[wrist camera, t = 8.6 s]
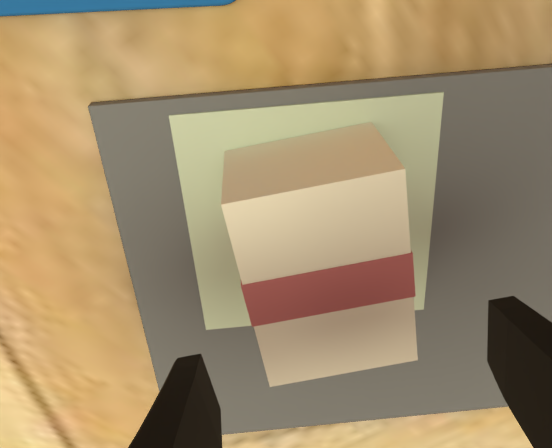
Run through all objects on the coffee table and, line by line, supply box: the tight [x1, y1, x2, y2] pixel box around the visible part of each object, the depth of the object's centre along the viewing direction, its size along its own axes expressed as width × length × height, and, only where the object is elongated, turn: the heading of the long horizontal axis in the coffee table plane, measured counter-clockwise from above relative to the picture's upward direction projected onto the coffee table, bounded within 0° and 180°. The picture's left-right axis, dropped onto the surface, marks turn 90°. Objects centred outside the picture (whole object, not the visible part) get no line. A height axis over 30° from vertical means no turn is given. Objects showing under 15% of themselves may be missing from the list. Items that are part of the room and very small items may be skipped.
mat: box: [88, 64, 552, 435], centre depth 21 cm, size 20×16×1 cm
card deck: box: [221, 122, 418, 387], centre depth 17 cm, size 7×5×4 cm
